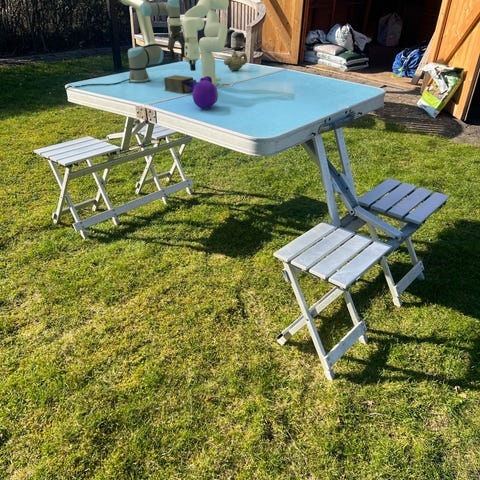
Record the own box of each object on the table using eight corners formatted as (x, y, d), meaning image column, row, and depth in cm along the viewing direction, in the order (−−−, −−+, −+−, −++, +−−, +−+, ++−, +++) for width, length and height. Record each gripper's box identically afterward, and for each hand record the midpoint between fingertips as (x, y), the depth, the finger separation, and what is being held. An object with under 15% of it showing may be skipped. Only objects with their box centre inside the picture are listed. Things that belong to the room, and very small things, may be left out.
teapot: (227, 73, 361) (227, 53, 353) (221, 70, 369) (220, 51, 362) (250, 70, 370) (250, 50, 362) (243, 68, 378) (242, 49, 371)
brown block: (193, 90, 308) (193, 77, 304) (182, 93, 301) (181, 80, 296) (176, 87, 317) (175, 75, 313) (165, 90, 310) (164, 77, 305)
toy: (205, 99, 283) (218, 114, 263) (178, 94, 276) (189, 110, 255) (211, 73, 275) (224, 87, 254) (183, 68, 268) (194, 82, 247)
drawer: (202, 90, 303) (202, 80, 299) (192, 93, 296) (192, 83, 293) (180, 87, 314) (179, 77, 310) (170, 89, 307) (169, 79, 304)
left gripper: (169, 26, 291) (172, 61, 302) (189, 23, 311) (192, 56, 321) (160, 26, 294) (163, 61, 305) (180, 23, 313) (183, 55, 324)
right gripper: (187, 41, 278) (189, 72, 287) (203, 39, 288) (204, 69, 297) (178, 41, 282) (181, 71, 291) (194, 38, 292) (196, 68, 301)
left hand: (178, 58), depth 313 cm, fingers open, 13 cm apart
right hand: (193, 70), depth 294 cm, fingers closed
